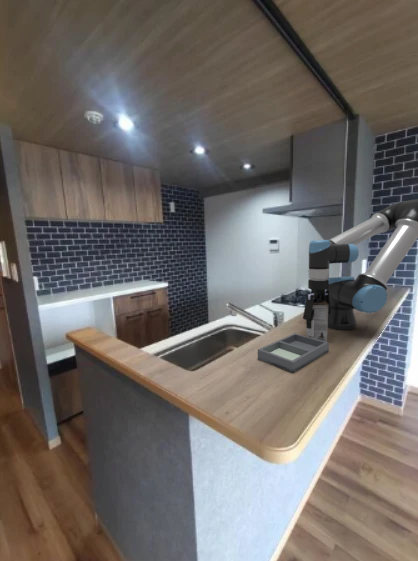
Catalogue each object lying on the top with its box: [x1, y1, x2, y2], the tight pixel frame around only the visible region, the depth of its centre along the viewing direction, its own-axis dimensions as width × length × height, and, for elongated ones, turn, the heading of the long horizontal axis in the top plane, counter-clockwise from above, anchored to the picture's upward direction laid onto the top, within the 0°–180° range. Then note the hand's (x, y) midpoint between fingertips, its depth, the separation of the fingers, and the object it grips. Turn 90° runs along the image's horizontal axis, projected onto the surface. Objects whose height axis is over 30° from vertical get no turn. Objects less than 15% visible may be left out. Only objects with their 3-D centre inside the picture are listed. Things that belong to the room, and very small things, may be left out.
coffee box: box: [307, 300, 328, 342], centre depth 107 cm, size 9×6×16 cm
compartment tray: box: [257, 332, 330, 374], centre depth 94 cm, size 23×14×4 cm, turn 130°
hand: (317, 332), depth 108 cm, fingers closed on coffee box, 11 cm apart
